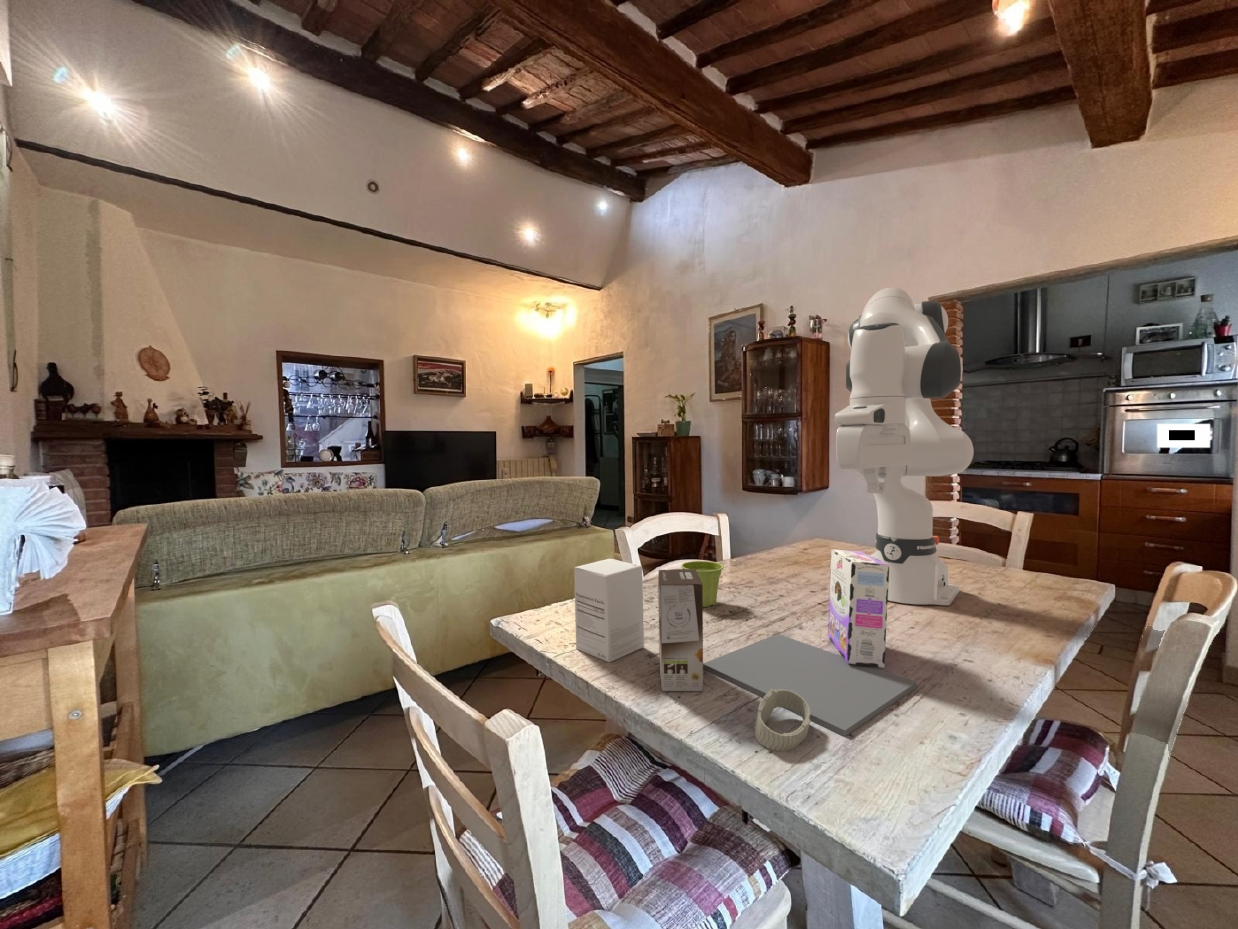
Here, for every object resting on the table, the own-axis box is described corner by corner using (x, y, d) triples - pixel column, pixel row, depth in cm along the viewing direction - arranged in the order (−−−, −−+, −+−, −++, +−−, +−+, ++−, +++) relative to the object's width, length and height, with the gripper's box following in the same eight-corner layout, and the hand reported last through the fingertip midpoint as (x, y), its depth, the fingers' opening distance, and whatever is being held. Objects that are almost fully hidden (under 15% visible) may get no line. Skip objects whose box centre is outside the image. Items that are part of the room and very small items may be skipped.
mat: (777, 638, 93) (777, 633, 93) (916, 687, 74) (916, 682, 74) (702, 668, 81) (702, 663, 81) (844, 736, 62) (844, 730, 62)
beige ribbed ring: (773, 710, 69) (773, 675, 68) (820, 727, 65) (821, 689, 64) (743, 742, 62) (743, 702, 61) (794, 762, 58) (794, 720, 57)
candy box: (886, 669, 78) (891, 564, 78) (846, 665, 79) (851, 561, 79) (860, 639, 92) (864, 550, 92) (826, 636, 93) (830, 547, 93)
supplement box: (610, 634, 96) (609, 557, 96) (645, 647, 90) (644, 565, 89) (574, 648, 90) (572, 566, 89) (608, 664, 84) (607, 575, 83)
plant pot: (681, 596, 119) (681, 560, 119) (722, 597, 118) (721, 560, 118) (681, 609, 110) (680, 570, 110) (724, 610, 109) (724, 571, 108)
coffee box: (704, 692, 74) (704, 584, 73) (661, 692, 74) (659, 584, 73) (697, 664, 83) (696, 568, 82) (658, 664, 83) (657, 568, 82)
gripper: (886, 416, 98) (886, 487, 98) (828, 414, 86) (828, 495, 86) (921, 415, 93) (921, 489, 93) (865, 412, 81) (865, 498, 81)
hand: (876, 492), depth 90 cm, fingers closed
